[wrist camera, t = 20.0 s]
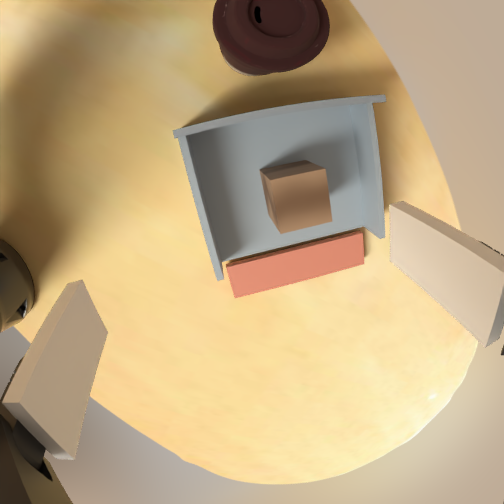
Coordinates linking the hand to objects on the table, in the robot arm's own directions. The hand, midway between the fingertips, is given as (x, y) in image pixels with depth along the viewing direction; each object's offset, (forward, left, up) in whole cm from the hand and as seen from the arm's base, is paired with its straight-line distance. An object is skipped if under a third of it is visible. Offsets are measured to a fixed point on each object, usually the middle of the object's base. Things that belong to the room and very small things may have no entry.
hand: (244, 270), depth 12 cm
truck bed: (+8, -3, -28) cm, 30 cm away
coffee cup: (+7, +14, -29) cm, 33 cm away
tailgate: (+8, -13, -27) cm, 31 cm away
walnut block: (+8, -4, -27) cm, 29 cm away
